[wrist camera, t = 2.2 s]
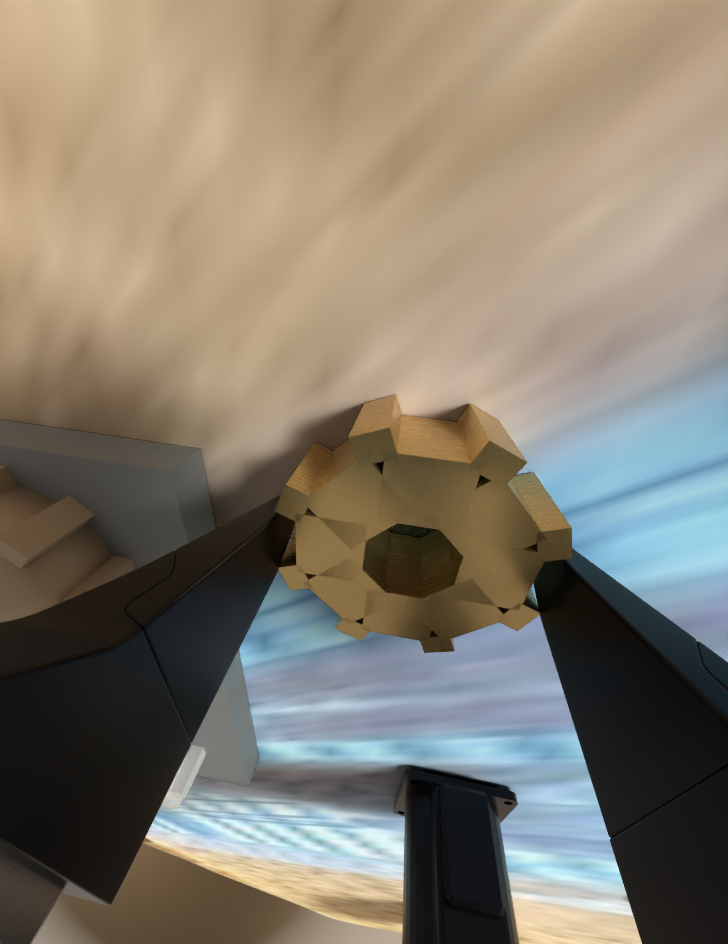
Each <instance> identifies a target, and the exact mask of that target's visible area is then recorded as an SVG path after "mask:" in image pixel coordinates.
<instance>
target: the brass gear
mask: <svg viewBox="0 0 728 944" xmlns="http://www.w3.org/2000/svg"><path fill="white" fill-rule="evenodd" d="M526 463H527V461H526V459H525V458H524V456H523V455H522V454H521V452H520V451H519V449H518V448H517V446H516V445H515V443H514V442H513V440H512V439H511V437H510V436H509V435H508V433H507V432H506V430H505V429H504V427H503V426H502V424H501V423H500V421H499V420H498V419H496V418H494V417H493V416H491V415H489V414H487V413H486V412H484V411H482V410H481V409H479V408H477V407H475V406H474V405H472V404H469V406H468V407H467V409H466V410H465V411H464V413H463V414H462V415H461V417H460V418H459V420H458V421H457V422H454V421H446V420H439V419H431V418H423V417H415V416H408V415H402V414H401V410H400V407H399V403H398V399H397V395H392V396H388V397H385V398H381V399H377V400H374V401H370V402H366V403H364V405H363V407H362V409H361V411H360V414H359V416H358V418H357V420H356V422H355V424H354V426H353V428H352V430H351V432H350V434H349V436H348V440H347V441H346V442H344V443H343V444H342V445H340V446H339V447H338V448H336V449H335V450H334V451H332V450H330V449H328V448H326V447H324V446H322V445H320V444H318V443H316V442H315V443H314V445H313V446H312V447H311V449H310V450H309V452H308V453H307V455H306V456H305V458H304V459H303V460H302V462H301V463H300V465H299V466H298V468H297V469H296V470H295V472H294V473H293V475H292V476H291V478H290V479H289V481H288V482H287V483H286V485H285V487H284V489H283V492H282V494H281V496H280V498H279V500H278V502H277V505H276V507H275V509H274V511H275V512H277V513H279V514H281V515H283V516H285V517H287V518H289V519H291V520H293V521H295V535H294V537H293V539H292V541H291V543H290V544H289V546H288V548H287V550H286V552H285V554H284V556H283V558H282V561H281V564H280V566H279V571H280V573H281V575H282V576H283V578H284V580H285V582H286V583H287V585H288V587H289V589H290V590H298V589H307V588H309V589H310V590H311V591H312V592H314V593H315V594H316V595H317V596H318V597H319V598H320V599H321V600H323V601H324V602H325V603H326V604H327V605H328V606H329V607H331V608H332V609H333V610H334V611H335V612H336V613H337V614H338V615H339V616H338V620H337V624H336V629H337V630H339V631H341V632H343V633H345V634H348V635H350V636H352V637H354V638H356V639H359V640H362V639H363V638H364V637H365V636H366V635H367V634H368V633H369V632H370V631H372V632H377V633H382V634H388V635H393V636H398V637H404V638H409V639H414V640H420V642H421V645H422V647H423V650H424V653H428V652H449V651H454V644H453V638H455V637H457V636H460V635H463V634H466V633H469V632H472V631H475V630H478V629H481V628H484V627H487V626H490V625H493V624H496V623H499V622H500V623H502V624H504V625H506V626H508V627H510V628H512V629H514V630H516V631H518V630H519V629H521V628H522V627H524V626H525V625H526V624H528V623H529V622H530V621H532V620H533V619H535V618H536V617H537V616H539V615H540V611H539V608H538V605H537V602H536V600H535V597H534V595H533V592H532V590H531V586H532V584H533V583H534V581H535V579H536V577H537V575H538V573H539V571H540V569H541V567H542V565H543V563H544V562H545V561H554V560H563V559H572V528H571V526H570V525H569V523H568V522H567V520H566V519H565V517H564V516H563V514H562V513H561V512H560V510H559V509H558V507H557V506H556V504H555V503H554V501H553V500H552V498H551V497H550V495H549V494H548V492H547V491H546V490H545V488H544V487H543V485H542V484H541V482H540V481H539V479H538V478H537V476H536V475H535V473H534V472H533V473H527V474H522V475H516V474H517V473H518V472H519V471H520V470H521V469H522V467H523V466H524V465H525V464H526ZM515 475H516V476H515ZM397 523H399V524H406V525H412V526H419V527H425V528H431V529H437V530H435V531H433V532H431V533H429V534H427V535H425V536H423V537H421V538H419V537H413V536H407V535H400V534H394V533H391V532H390V531H389V530H388V528H390V527H392V526H394V525H395V524H397Z"/></svg>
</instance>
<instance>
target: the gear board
mask: <svg viewBox="0 0 728 944" xmlns="http://www.w3.org/2000/svg"><path fill="white" fill-rule="evenodd" d="M214 529H216V526H215V520H214V515H213V510H212V505H211V499H210V494H209V489H208V483H207V478H206V473H205V467H204V462H203V457H202V451H201V449H198V448H191V447H184V446H177V445H171V444H164V443H157V442H150V441H143V440H136V439H129V438H122V437H116V436H109V435H102V434H95V433H88V432H81V431H74V430H68V429H61V428H54V427H47V426H40V425H33V424H26V423H20V422H13V421H6V420H0V622H6V621H11V620H15V619H19V618H23V617H26V616H29V615H32V614H35V613H37V612H40V611H42V610H45V609H47V608H50V607H52V606H54V605H56V604H59V603H61V602H63V601H66V600H68V599H70V598H72V597H75V596H77V595H79V594H82V593H84V592H86V591H88V590H91V589H93V588H95V587H98V586H100V585H102V584H104V583H107V582H109V581H111V580H113V579H116V578H118V577H120V576H122V575H124V574H127V573H129V572H131V571H133V570H135V569H138V568H140V567H142V566H144V565H146V564H148V563H150V562H152V561H154V560H156V559H158V558H160V557H162V556H164V555H166V554H168V553H169V552H171V551H173V550H175V551H176V550H177V548H179V547H181V546H183V545H185V544H187V543H189V542H191V541H193V540H195V539H197V538H199V537H201V536H203V535H204V534H206V533H208V532H210V531H212V530H214ZM258 760H259V755H258V749H257V744H256V739H255V733H254V728H253V723H252V717H251V712H250V707H249V701H248V696H247V691H246V685H245V680H244V675H243V669H242V664H241V659H240V653H239V650H238V652H237V654H236V656H235V658H234V660H233V662H232V664H231V666H230V668H229V670H228V672H227V674H226V676H225V678H224V680H223V682H222V684H221V686H220V688H219V690H218V692H217V694H216V696H215V698H214V700H213V702H212V704H211V706H210V708H209V710H208V712H207V714H206V716H205V718H204V720H203V722H202V724H201V726H200V728H199V730H198V732H197V734H196V736H195V738H194V740H193V742H191V746H190V748H189V750H188V752H187V754H186V756H185V758H184V760H183V762H182V764H181V766H180V768H179V770H178V772H177V774H176V776H175V778H174V780H173V782H172V784H171V786H170V788H169V790H168V792H167V794H166V796H165V798H164V800H163V802H162V805H164V806H166V807H168V808H170V809H175V808H179V806H180V804H181V802H182V800H183V799H184V800H185V799H186V796H187V794H188V792H189V790H190V788H191V785H192V783H193V781H194V779H195V777H196V775H200V776H204V777H208V778H213V779H217V780H221V781H225V782H230V783H234V784H238V785H242V786H247V787H250V784H251V781H252V778H253V775H254V772H255V769H256V766H257V763H258Z"/></svg>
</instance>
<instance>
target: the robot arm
mask: <svg viewBox="0 0 728 944" xmlns="http://www.w3.org/2000/svg"><path fill="white" fill-rule="evenodd" d="M279 498H280V496H278V497H276V498H274V499H272V500H270V501H268V502H266V503H264V504H262V505H260V506H259V507H257V508H255V509H253V510H251V511H249V512H247V513H245V514H243V515H241V516H239V517H237V518H235V519H233V520H232V521H230V522H228V523H226V524H224V525H222V526H220V527H218V528H216V529H214V530H212V531H210V532H208V533H206V534H204V535H203V536H201V537H199V538H197V539H195V540H193V541H191V542H189V543H187V544H185V545H183V546H181V547H179V548H177V550H176V551H175V550H173V551H171V552H169V553H168V554H166V555H164V556H162V557H160V558H158V559H156V560H154V561H152V562H150V563H148V564H146V565H144V566H142V567H140V568H138V569H135V570H133V571H131V572H129V573H127V574H124V575H122V576H120V577H118V578H116V579H113V580H111V581H109V582H107V583H104V584H102V585H100V586H98V587H95V588H93V589H91V590H88V591H86V592H84V593H82V594H79V595H77V596H75V597H72V598H70V599H68V600H66V601H63V602H61V603H59V604H56V605H54V606H52V607H50V608H47V609H45V610H42V611H40V612H37V613H35V614H32V615H29V616H26V617H23V618H19V619H15V620H11V621H6V622H0V944H32V943H33V941H34V939H35V938H36V936H37V934H38V933H39V931H40V929H41V927H42V926H43V924H44V923H45V921H46V919H47V918H48V916H49V914H50V912H51V911H52V909H53V907H54V906H55V904H56V902H57V900H58V899H59V897H60V896H61V894H62V893H64V894H68V895H71V896H75V897H78V898H82V899H86V900H89V901H93V902H96V903H100V904H104V905H107V906H110V905H111V903H112V901H113V900H114V898H115V896H116V894H117V892H118V890H119V888H120V886H121V885H122V883H123V881H124V879H125V877H126V874H127V873H128V871H129V869H130V867H131V865H132V863H133V861H134V859H135V857H136V855H137V852H138V851H139V849H140V847H141V845H142V843H143V841H144V839H145V837H146V835H147V833H148V830H149V828H150V826H151V824H152V822H153V820H154V818H155V816H156V814H157V812H158V810H159V808H160V806H161V804H162V802H163V800H164V798H165V796H166V794H167V792H168V790H169V788H170V786H171V784H172V782H173V780H174V778H175V776H176V774H177V772H178V770H179V768H180V766H181V764H182V762H183V760H184V758H185V756H186V754H187V752H188V750H189V748H190V746H191V742H193V740H194V738H195V736H196V734H197V732H198V730H199V728H200V726H201V724H202V722H203V720H204V718H205V716H206V714H207V712H208V710H209V708H210V706H211V704H212V702H213V700H214V698H215V696H216V694H217V692H218V690H219V688H220V686H221V684H222V682H223V680H224V678H225V676H226V674H227V672H228V670H229V668H230V666H231V664H232V662H233V660H234V658H235V656H236V654H237V652H238V650H239V648H240V646H241V644H242V642H243V640H244V638H245V636H246V634H247V632H248V630H249V628H250V626H251V624H252V622H253V620H254V618H255V616H256V614H257V612H258V610H259V608H260V606H261V604H262V602H263V600H264V598H265V596H266V594H267V592H268V590H269V588H270V586H271V584H272V582H273V580H274V578H275V576H276V573H277V571H278V569H279V566H280V564H281V561H282V558H283V555H284V553H285V550H286V547H287V544H288V541H289V539H290V536H291V533H292V530H293V527H294V524H295V521H293V520H291V519H289V518H287V517H285V516H283V515H281V514H279V513H277V512H275V511H274V509H275V507H276V505H277V502H278V500H279ZM534 588H535V593H536V598H537V603H538V608H539V611H540V617H541V620H542V624H543V627H544V630H545V633H546V637H547V640H548V643H549V646H550V649H551V653H552V656H553V659H554V662H555V665H556V669H557V672H558V675H559V678H560V681H561V685H562V688H563V691H564V694H565V697H566V701H567V704H568V707H569V710H570V713H571V717H572V720H573V723H574V726H575V729H576V733H577V736H578V739H579V742H580V745H581V749H582V752H583V755H584V758H585V761H586V765H587V768H588V771H589V774H590V777H591V781H592V784H593V787H594V790H595V793H596V797H597V800H598V803H599V806H600V809H601V813H602V816H603V819H604V822H605V825H606V828H607V832H608V835H609V837H611V839H610V842H611V845H612V849H613V852H614V855H615V858H616V861H617V865H618V868H619V871H620V874H621V877H622V881H623V884H624V887H625V890H626V893H627V897H628V900H629V903H630V906H631V909H632V913H633V916H634V919H635V922H636V925H637V929H638V932H639V935H640V938H641V941H642V944H728V662H727V661H725V660H724V659H723V658H721V657H720V656H718V655H717V654H716V653H714V652H713V651H712V650H710V649H709V648H708V647H706V646H705V645H703V644H702V643H701V642H698V641H697V642H696V639H695V638H694V637H692V636H691V635H690V634H688V633H687V632H686V631H684V630H683V629H682V628H680V627H679V626H677V625H676V624H675V623H673V622H672V621H671V620H669V619H668V618H667V617H665V616H664V615H662V614H661V613H660V612H658V611H657V610H656V609H654V608H653V607H651V606H650V605H649V604H647V603H646V602H645V601H643V600H642V599H641V598H639V597H638V596H636V595H635V594H634V593H632V592H631V591H630V590H628V589H627V588H626V587H624V586H623V585H621V584H620V583H619V582H617V581H616V580H615V579H613V578H612V577H611V576H609V575H608V574H606V573H605V572H604V571H602V570H601V569H600V568H598V567H597V566H596V565H594V564H593V563H591V562H590V561H589V560H587V559H586V558H585V557H583V556H582V555H581V554H579V553H578V552H576V551H575V550H574V549H572V559H563V560H554V561H545V562H544V563H543V565H542V567H541V569H540V571H539V573H538V575H537V577H536V579H535V581H534ZM517 804H518V803H517V798H516V794H515V793H514V792H512V791H508V790H504V789H499V788H495V787H490V786H486V785H481V784H476V783H472V782H467V781H463V780H458V779H454V778H449V777H445V776H440V775H436V774H431V773H427V772H422V771H418V770H407V771H406V773H405V776H404V778H403V781H402V784H401V786H400V789H399V792H398V794H397V797H396V799H395V802H394V813H396V814H398V815H402V816H405V838H404V888H403V940H402V944H519V939H518V933H517V927H516V920H515V914H514V908H513V902H512V896H511V889H510V883H509V877H508V871H507V865H506V858H505V852H504V846H503V840H502V834H501V827H500V823H501V822H502V821H503V820H504V819H505V818H506V817H507V815H508V814H509V813H510V812H511V811H512V810H513V809H514V808H515V807H516V806H517Z"/></svg>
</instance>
